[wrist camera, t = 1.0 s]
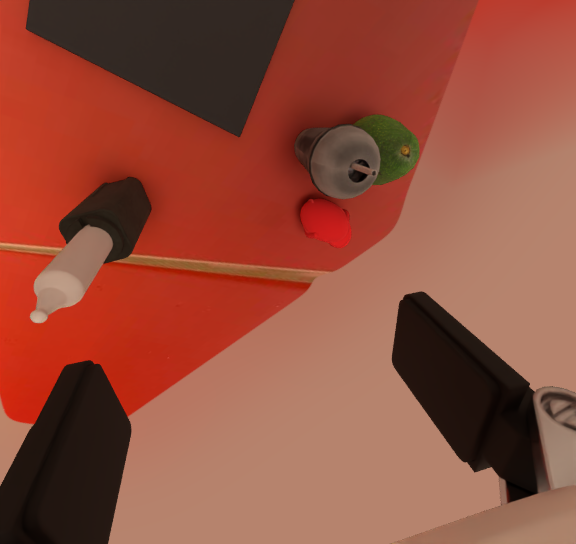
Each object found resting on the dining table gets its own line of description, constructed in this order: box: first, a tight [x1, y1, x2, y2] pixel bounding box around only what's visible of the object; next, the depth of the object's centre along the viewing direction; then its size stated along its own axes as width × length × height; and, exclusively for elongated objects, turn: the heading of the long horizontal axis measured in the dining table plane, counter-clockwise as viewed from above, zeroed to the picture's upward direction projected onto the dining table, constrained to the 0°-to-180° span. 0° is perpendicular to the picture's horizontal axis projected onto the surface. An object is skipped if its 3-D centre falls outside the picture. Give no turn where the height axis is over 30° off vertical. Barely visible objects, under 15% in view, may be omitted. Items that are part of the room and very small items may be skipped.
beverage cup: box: [294, 124, 381, 199], centre depth 33 cm, size 7×7×20 cm
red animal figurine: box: [300, 198, 351, 248], centre depth 44 cm, size 8×6×6 cm
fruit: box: [353, 115, 419, 185], centre depth 38 cm, size 8×8×12 cm
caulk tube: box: [30, 177, 151, 323], centre depth 29 cm, size 5×5×25 cm
